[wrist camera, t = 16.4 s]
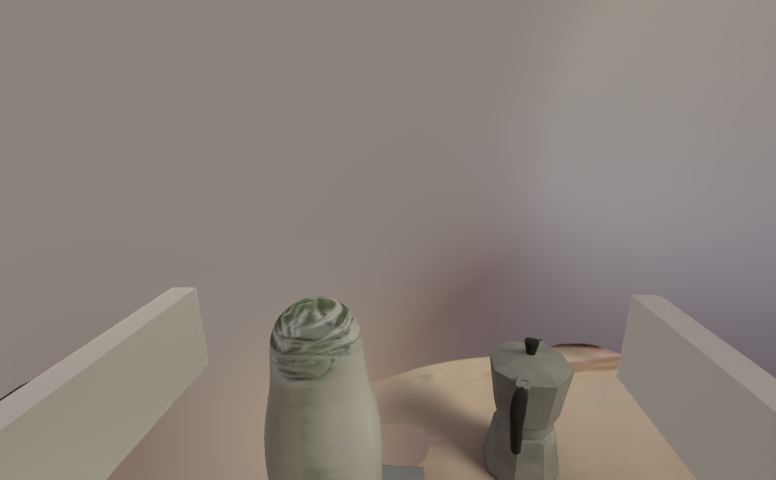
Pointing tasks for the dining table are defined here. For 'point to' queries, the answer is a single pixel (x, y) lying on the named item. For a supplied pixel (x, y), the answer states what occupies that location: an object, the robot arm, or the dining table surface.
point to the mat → (401, 473)
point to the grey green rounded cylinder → (320, 397)
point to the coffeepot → (526, 410)
